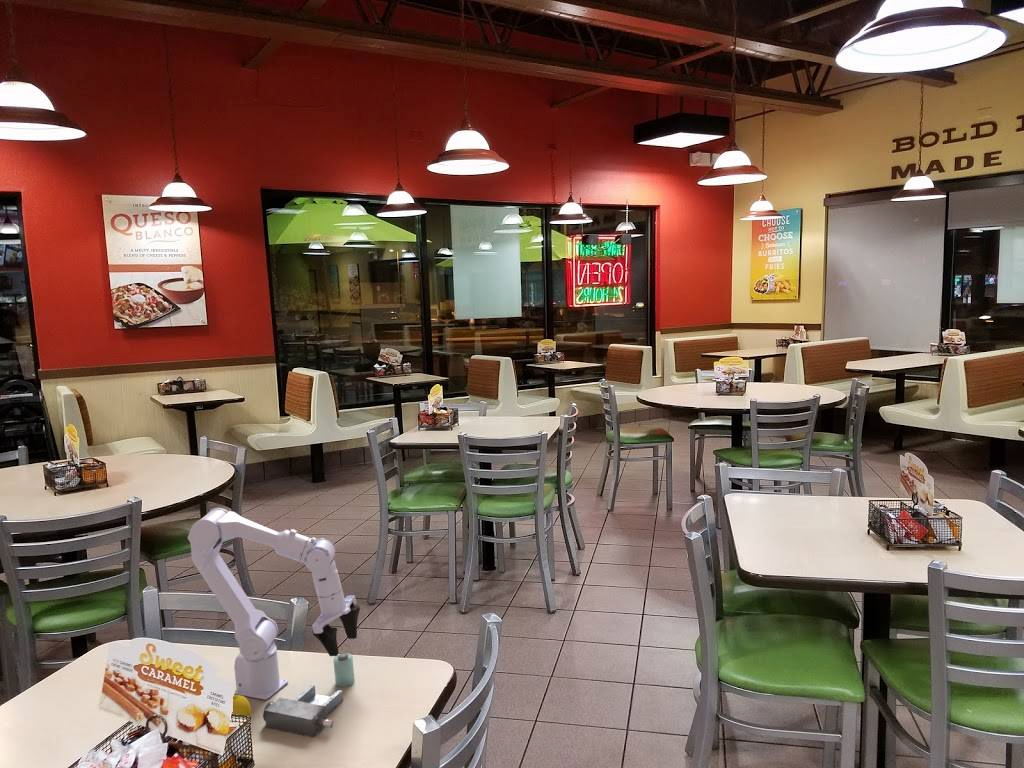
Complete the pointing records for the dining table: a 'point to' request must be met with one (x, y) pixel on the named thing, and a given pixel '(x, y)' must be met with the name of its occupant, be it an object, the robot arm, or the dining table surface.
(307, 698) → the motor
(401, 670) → the dining table surface
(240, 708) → the lemon
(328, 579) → the robot arm
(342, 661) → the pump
